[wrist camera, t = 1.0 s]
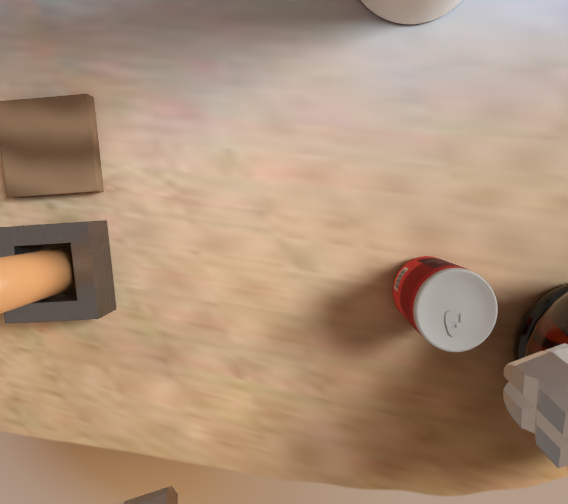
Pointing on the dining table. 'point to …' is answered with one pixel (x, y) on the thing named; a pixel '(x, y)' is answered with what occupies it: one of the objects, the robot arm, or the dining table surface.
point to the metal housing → (86, 262)
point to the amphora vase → (543, 324)
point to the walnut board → (50, 146)
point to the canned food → (445, 303)
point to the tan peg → (35, 277)
